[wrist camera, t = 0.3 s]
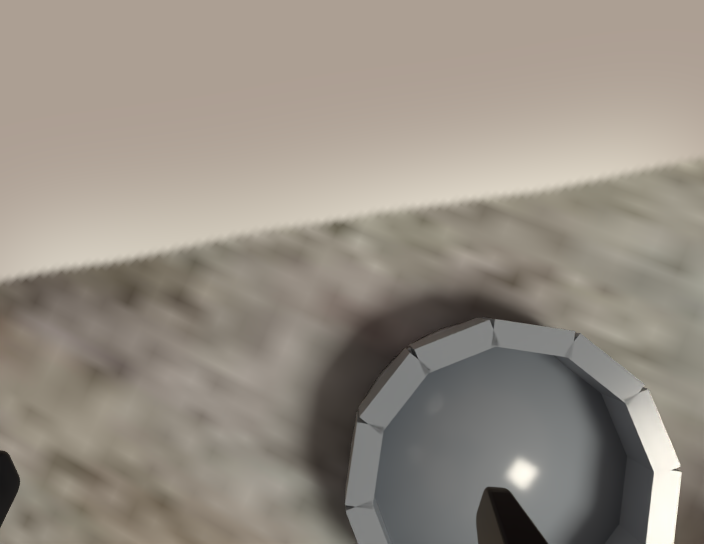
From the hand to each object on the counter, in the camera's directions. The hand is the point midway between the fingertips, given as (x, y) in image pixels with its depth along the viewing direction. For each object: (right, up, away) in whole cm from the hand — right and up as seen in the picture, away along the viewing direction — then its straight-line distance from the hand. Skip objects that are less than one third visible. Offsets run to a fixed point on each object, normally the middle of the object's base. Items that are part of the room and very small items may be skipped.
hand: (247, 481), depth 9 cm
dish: (+9, -6, +15) cm, 18 cm away
